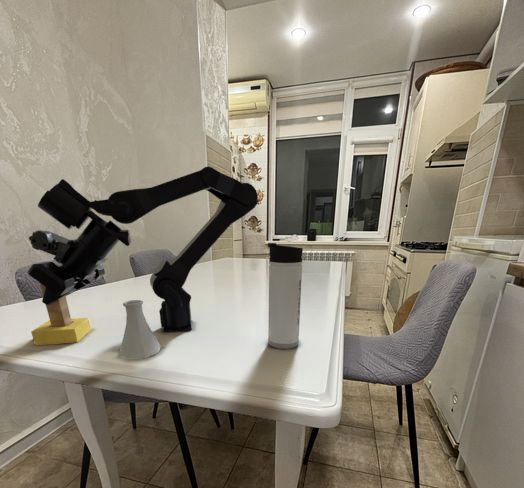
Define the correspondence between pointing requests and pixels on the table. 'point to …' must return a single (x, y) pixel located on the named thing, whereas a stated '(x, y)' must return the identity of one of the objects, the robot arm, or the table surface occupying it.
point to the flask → (137, 333)
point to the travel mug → (284, 295)
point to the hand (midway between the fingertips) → (49, 301)
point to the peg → (58, 311)
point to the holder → (61, 332)
